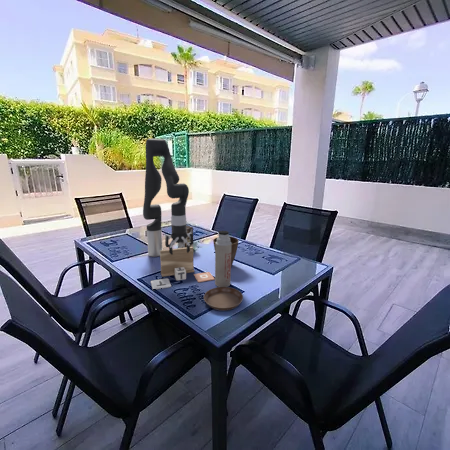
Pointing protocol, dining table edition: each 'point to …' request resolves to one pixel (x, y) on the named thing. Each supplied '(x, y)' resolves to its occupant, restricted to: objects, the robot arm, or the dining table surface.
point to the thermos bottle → (223, 260)
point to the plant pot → (233, 247)
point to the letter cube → (180, 273)
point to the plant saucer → (223, 298)
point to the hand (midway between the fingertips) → (179, 253)
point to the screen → (176, 261)
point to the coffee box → (183, 244)
